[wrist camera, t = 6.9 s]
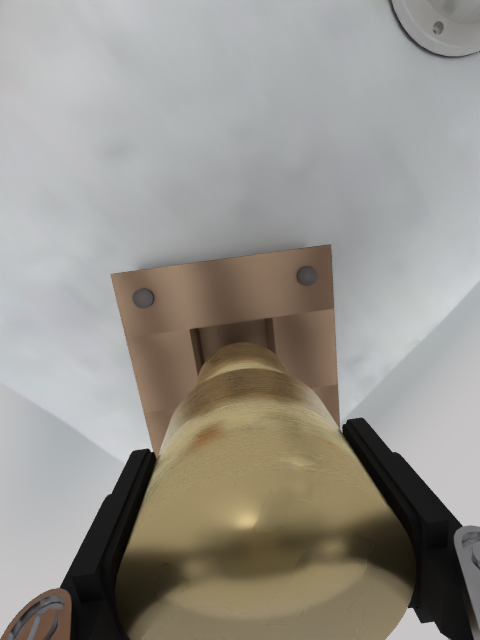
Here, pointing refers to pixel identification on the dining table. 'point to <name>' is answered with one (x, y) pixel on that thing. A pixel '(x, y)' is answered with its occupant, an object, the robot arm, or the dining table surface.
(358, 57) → the dining table surface
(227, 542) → the yellow translucent cylinder
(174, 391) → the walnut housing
